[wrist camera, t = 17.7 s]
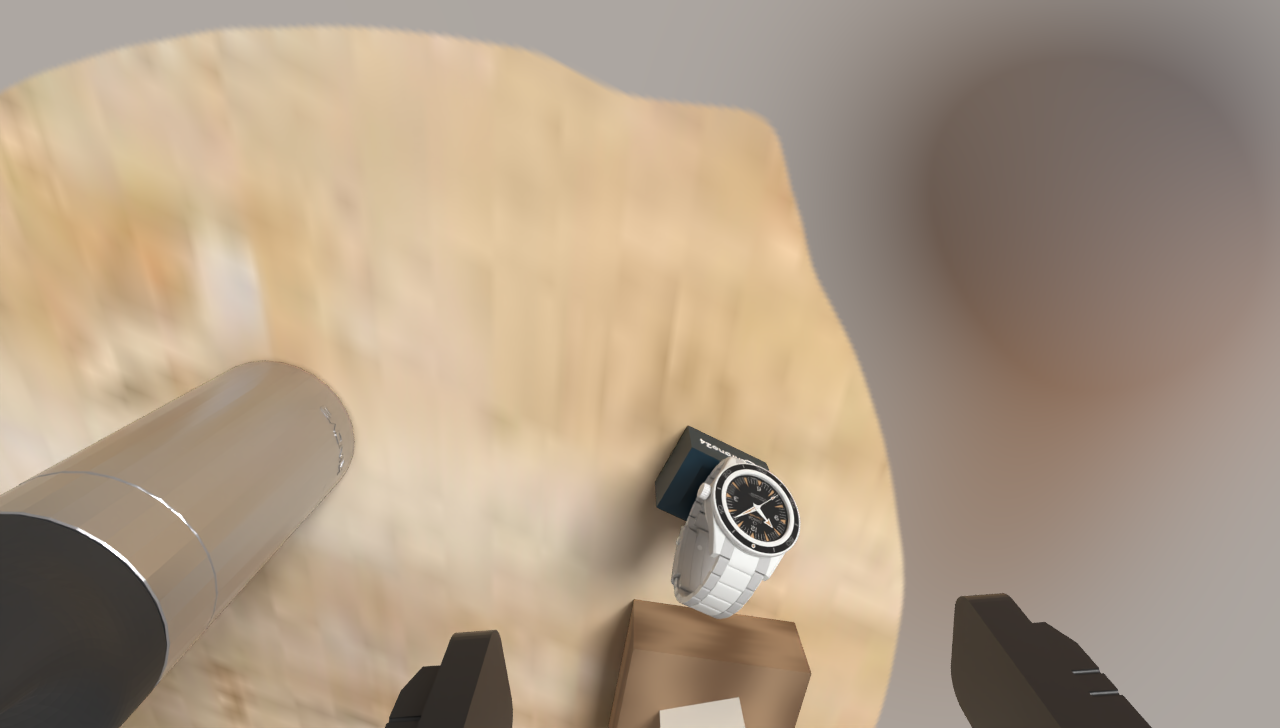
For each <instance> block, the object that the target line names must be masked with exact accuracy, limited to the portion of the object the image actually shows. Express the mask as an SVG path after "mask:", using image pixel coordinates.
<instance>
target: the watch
mask: <svg viewBox="0 0 1280 728" xmlns="http://www.w3.org/2000/svg"><path fill="white" fill-rule="evenodd" d="M655 490H656V507H657V508H659V509H661V510H663V511H665V512H667V513H670V514H672V515H674V516H676V517H678V518H681V519H683V520H685V521H686V524H685V525H684V526H682V527H681V531H680V534H679V537H678V538H677V540H676V545H677V547H676V552H675V557H674V563H673V569H672V578H671V582H672V584H673V585H674V594H675V597H676V599H677V601H678V602H679V603H682V604H684V605H686V606H688V607H691V608H693V609H695V610H698V611H700V612H702V613H704V614H707V615H709V616H711V617H714V618H716V619H723V618H728V617H730V616H732V615H733V614H734V613H736V612H737V611H739V610H740V609H741V608H742V607H743V605H744V604H745V603H746V602H747V601H748V600H749V599H750V597H751V596H752V595H753V593H754V591H755V590H756V589H757V587H758V586H759V584H760V582H761V581H762V580H764V581H766V580H767V579H769V578H770V576H771V575H772V573H773V572H774V570H775V569H776V567H777V565H778V564H779V562H780V561H781V559H782V557H783V556H784V554H785V553H786V552H787V551H788V550H790V549H791V548H792V547H793V546H794V544H795V542H796V540H797V538H798V536H799V532H800V531H799V530H800V516H799V513H798V512H799V511H798V508H797V506H796V503H795V501H794V499H793V497H792V495H791V494H790V492H789V490H788V489H787V488H786V486H785V485H784V484H783V483H782V482H781V480H779V479H778V478H777V477H776V476H775V475H773V474H772V473H771V472H770V471H769V469H768V466H767V464H766V463H765V462H763V461H761V460H759V459H757V458H755V457H753V456H751V455H749V454H746V453H744V452H742V451H740V450H738V449H736V448H734V447H732V446H730V445H728V444H726V443H724V442H722V441H719V440H717V439H715V438H713V437H711V436H709V435H707V434H705V433H703V432H701V431H699V430H697V429H694V428H692V427H690V426H687V428H686V430H685V431H684V433H683V435H682V437H681V438H680V440H679V442H678V443H677V445H676V447H675V449H674V450H673V452H672V454H671V455H670V457H669V459H668V461H667V462H666V464H665V466H664V468H663V469H662V471H661V473H660V474H659V476H658V478H657V480H656V481H655ZM722 556H723V557H722ZM755 571H756V572H755Z"/></svg>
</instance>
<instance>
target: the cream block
mask: <svg viewBox="0 0 1280 728" xmlns="http://www.w3.org/2000/svg"><path fill="white" fill-rule="evenodd" d="M660 728H745V724H744V719H743V714H742V710H741V705H740V700H739V697H737V698H731V699H725V700H719V701H713V702H707V703H701V704H695V705H689V706H683V707H677V708H672V709H666V710H660Z"/></svg>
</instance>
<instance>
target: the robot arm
mask: <svg viewBox="0 0 1280 728" xmlns="http://www.w3.org/2000/svg"><path fill="white" fill-rule="evenodd" d="M354 442H355V441H354V433H353V426H352V423H351V421H350V418H349V415H348V412H347V411H346V409H345V407H344V406H343V404H342V402H341V401H340V399H339V398H338V397H337V395H336V394H335V393H334V392H333V391H332V390H331V389H330V388H329V387H328V386H327V385H326V384H325V383H323V382H322V381H321V380H320V379H318V378H317V377H316V376H314V375H312V374H310V373H309V372H307V371H305V370H303V369H301V368H299V367H296V366H292V365H289V364H286V363H282V362H273V361H257V362H249V363H245V364H242V365H239V366H236V367H234V368H232V369H230V370H228V371H226V372H224V373H223V374H221V375H219V376H217V377H215V378H213V379H212V380H210V381H208V382H206V383H204V384H202V385H201V386H199V387H197V388H195V389H193V390H191V391H189V392H187V393H185V394H184V395H182V396H180V397H178V398H176V399H174V400H173V401H171V402H169V403H167V404H165V405H163V406H162V407H160V408H158V409H156V410H154V411H152V412H151V413H149V414H147V415H145V416H143V417H142V418H140V419H138V420H136V421H134V422H132V423H131V424H129V425H127V426H125V427H123V428H121V429H120V430H118V431H116V432H114V433H112V434H110V435H109V436H107V437H105V438H103V439H101V440H100V441H98V442H96V443H94V444H92V445H90V446H89V447H87V448H85V449H83V450H81V451H79V452H78V453H76V454H74V455H72V456H70V457H69V458H67V459H65V460H63V461H61V462H59V463H58V464H56V465H54V466H52V467H50V468H48V469H47V470H45V471H43V472H41V473H39V474H37V475H36V476H34V477H32V478H30V479H28V480H27V481H25V482H23V483H21V484H19V485H18V486H16V487H15V488H13V489H11V490H9V491H7V492H5V493H4V494H2V495H0V728H119V727H120V726H121V725H122V724H123V723H124V722H125V721H126V720H127V718H128V717H129V716H130V715H131V714H132V713H133V712H134V711H135V709H136V708H137V707H138V706H139V705H140V704H141V703H142V702H143V700H144V699H145V698H146V697H147V696H148V695H149V694H150V693H151V691H152V690H153V689H154V688H155V686H156V685H157V684H158V683H159V682H160V681H161V680H162V679H163V677H164V676H165V675H166V674H167V673H168V672H169V671H170V670H171V668H172V667H173V666H174V665H175V664H176V663H177V662H178V661H179V660H180V658H181V657H182V656H183V655H184V654H185V653H186V652H187V651H188V649H189V648H190V647H191V646H192V645H193V644H194V643H195V642H196V640H197V639H198V638H199V637H200V636H201V635H202V634H203V632H204V631H205V630H206V629H207V628H208V627H209V626H210V624H211V623H212V622H213V621H214V620H215V619H216V618H217V617H218V616H219V614H220V613H221V612H222V611H223V610H224V609H225V608H226V607H227V605H228V604H229V603H230V602H231V601H232V600H233V599H234V598H235V597H236V595H237V594H238V593H239V592H240V591H241V590H242V589H243V588H244V587H245V585H246V584H247V583H248V582H249V581H250V580H251V579H252V578H253V577H254V575H255V574H256V573H257V572H258V571H259V570H260V569H261V568H262V566H263V565H264V564H265V563H266V562H267V561H268V560H269V559H270V558H271V556H272V555H273V554H274V553H275V552H276V551H277V550H278V549H279V548H280V546H281V545H282V544H283V543H284V542H285V541H286V540H287V539H288V537H289V536H290V535H291V534H292V533H293V532H294V531H295V530H296V529H297V527H298V526H299V525H300V524H301V523H302V522H303V521H304V520H305V519H306V517H307V516H308V515H309V514H310V513H311V512H312V511H313V510H314V509H315V508H316V506H317V505H318V504H319V503H320V502H321V501H322V500H323V499H324V497H325V496H326V495H327V494H328V493H329V492H330V491H331V490H332V489H333V487H334V486H335V485H336V484H337V483H338V482H339V481H340V479H341V478H342V477H343V475H344V474H345V472H346V471H347V469H348V467H349V465H350V462H351V459H352V457H353V451H354ZM951 676H952V682H953V687H954V691H955V694H956V697H957V700H958V702H959V705H960V707H961V709H962V710H963V712H964V714H965V716H966V717H967V719H968V721H969V723H970V724H971V726H972V728H1151V726H1150V725H1149V724H1148V723H1147V722H1146V721H1145V720H1144V718H1142V716H1141V715H1140V714H1139V713H1138V712H1137V711H1136V709H1135V708H1134V707H1133V706H1132V705H1131V704H1130V703H1129V702H1128V700H1127V699H1126V698H1125V697H1124V696H1123V695H1119V693H1118V689H1117V688H1116V687H1115V686H1114V684H1112V682H1111V681H1110V680H1109V679H1108V678H1107V677H1106V675H1105V674H1104V673H1103V674H1101V673H1100V671H1099V667H1098V666H1097V665H1096V664H1095V663H1094V662H1093V661H1092V660H1091V658H1090V657H1089V656H1088V655H1087V654H1086V653H1085V652H1084V651H1083V649H1082V648H1081V647H1080V646H1079V645H1078V644H1077V643H1076V642H1075V641H1073V640H1072V639H1070V638H1069V637H1067V636H1065V635H1064V634H1062V633H1061V632H1059V631H1058V630H1056V629H1055V628H1053V627H1052V626H1050V625H1048V624H1047V623H1046V622H1040V623H1032V622H1031V621H1030V620H1029V619H1028V618H1027V616H1026V615H1025V614H1024V613H1023V612H1022V611H1021V609H1020V608H1019V607H1018V606H1017V604H1016V603H1015V602H1014V601H1013V599H1012V598H1011V597H1010V596H1008V595H1007V594H1004V593H1000V594H986V595H973V596H961V597H959V598H958V599H957V601H956V604H955V614H954V628H953V644H952V658H951ZM512 722H513V708H512V698H511V692H510V686H509V681H508V676H507V670H506V665H505V659H504V654H503V648H502V643H501V638H500V635H499V633H498V631H497V630H489V631H476V632H463V633H455V634H453V636H452V637H451V639H450V642H449V645H448V647H447V650H446V652H445V655H444V658H443V660H442V663H441V665H440V666H426V667H422V668H421V669H420V670H419V672H418V673H417V674H416V675H415V676H414V677H413V678H412V679H411V680H410V681H409V682H408V684H407V685H406V686H405V687H404V688H403V689H402V690H401V692H400V694H399V696H398V699H397V701H396V703H395V705H394V708H393V710H392V712H391V715H390V717H389V723H387V724H386V726H385V728H512Z"/></svg>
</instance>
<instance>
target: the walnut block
mask: <svg viewBox="0 0 1280 728" xmlns="http://www.w3.org/2000/svg"><path fill="white" fill-rule="evenodd" d="M810 676H811V671H810V668H809V665H808V662H807V659H806V656H805V653H804V650H803V647H802V644H801V641H800V638H799V635H798V632H797V629H796V626H795V623H794V622H787V621H780V620H773V619H766V618H760V617H753V616H746V615H739V614H733V615H732V616H730V617H728V618H723V619H716V618H714V617H711V616H709V615H707V614H704V613H702V612H700V611H698V610H695V609H693V608H690V607H683V606H677V605H670V604H663V603H656V602H649V601H642V600H635V599H634V602H633V607H632V611H631V616H630V621H629V626H628V631H627V636H626V641H625V646H624V651H623V656H622V661H621V666H620V671H619V676H618V681H617V685H616V690H615V695H614V700H613V705H612V710H611V715H610V720H609V725H608V728H660V710H666V709H672V708H677V707H683V706H689V705H695V704H701V703H707V702H713V701H719V700H725V699H731V698H737V697H739V700H740V705H741V710H742V714H743V719H744V724H745V728H795V725H796V722H797V718H798V715H799V712H800V709H801V705H802V702H803V699H804V696H805V693H806V689H807V686H808V683H809V680H810Z"/></svg>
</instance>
